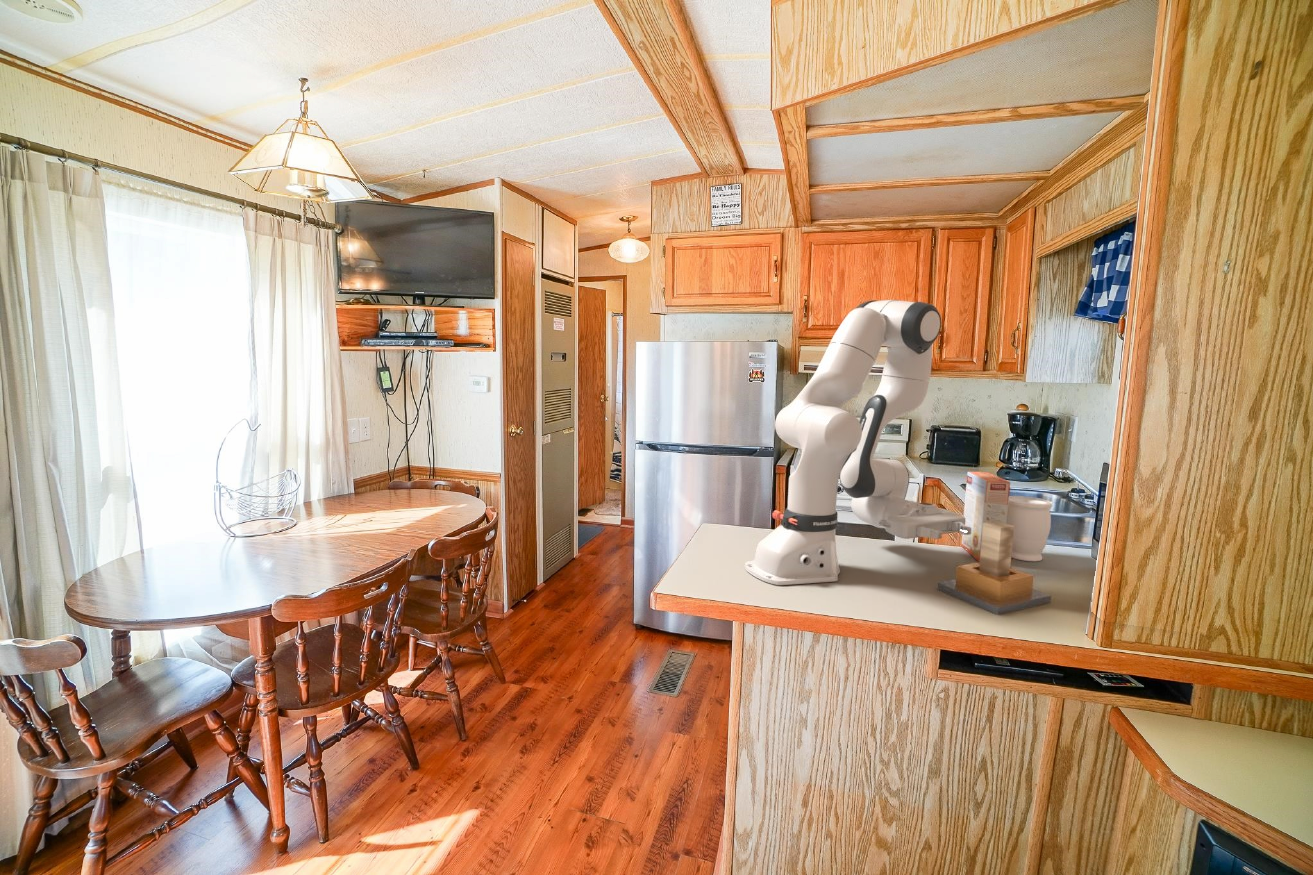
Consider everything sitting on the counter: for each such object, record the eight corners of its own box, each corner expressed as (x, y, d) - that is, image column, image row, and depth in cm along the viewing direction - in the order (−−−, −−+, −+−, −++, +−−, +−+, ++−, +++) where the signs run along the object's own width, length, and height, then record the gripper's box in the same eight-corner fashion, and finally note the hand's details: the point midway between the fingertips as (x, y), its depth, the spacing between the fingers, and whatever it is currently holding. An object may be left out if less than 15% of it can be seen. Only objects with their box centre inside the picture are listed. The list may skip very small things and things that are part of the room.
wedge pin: (994, 593, 119) (1000, 528, 117) (977, 586, 123) (983, 523, 121) (1008, 591, 121) (1014, 526, 119) (990, 584, 124) (996, 521, 123)
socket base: (997, 614, 112) (1000, 587, 112) (937, 589, 125) (939, 564, 124) (1050, 602, 119) (1052, 577, 118) (987, 579, 131) (989, 556, 131)
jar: (994, 548, 155) (999, 494, 153) (1038, 552, 152) (1044, 497, 150) (1006, 560, 145) (1011, 502, 143) (1053, 565, 142) (1059, 506, 140)
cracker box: (1004, 564, 142) (1012, 481, 139) (977, 562, 143) (984, 480, 141) (984, 547, 156) (990, 471, 153) (960, 545, 157) (966, 470, 154)
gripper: (874, 509, 138) (921, 524, 125) (936, 502, 146) (986, 515, 133) (873, 534, 139) (919, 552, 126) (934, 526, 147) (984, 542, 134)
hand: (954, 533), depth 130 cm, fingers open, 8 cm apart
